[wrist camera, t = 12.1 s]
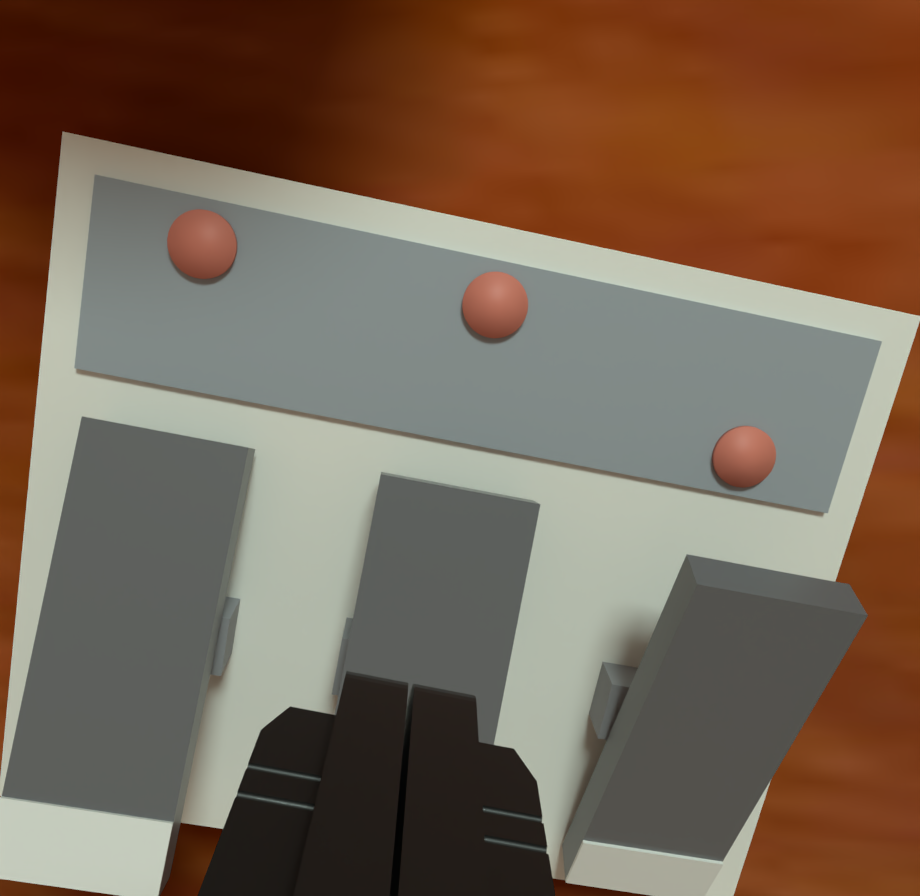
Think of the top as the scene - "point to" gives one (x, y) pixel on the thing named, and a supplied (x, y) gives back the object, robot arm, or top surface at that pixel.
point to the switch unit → (443, 429)
